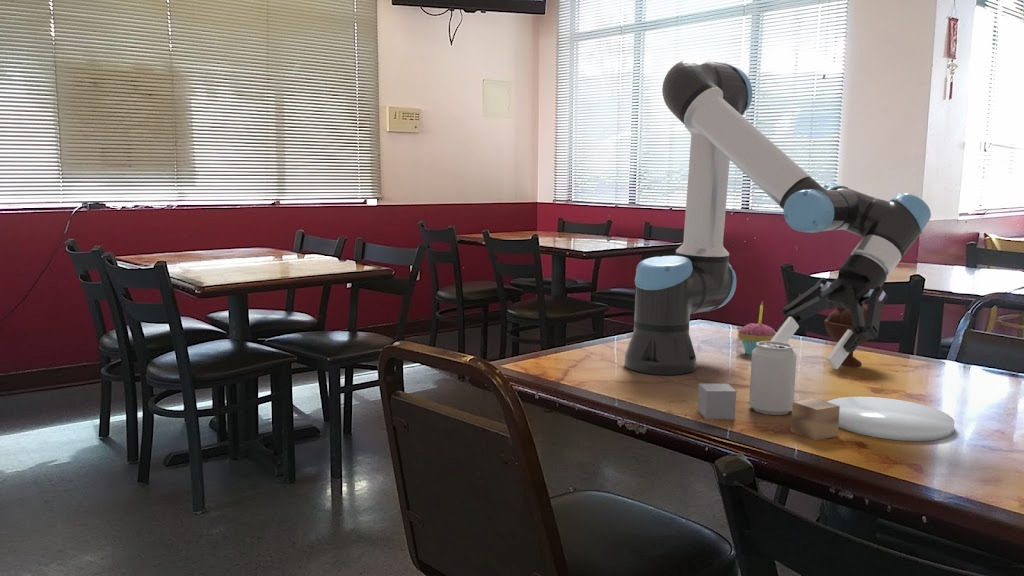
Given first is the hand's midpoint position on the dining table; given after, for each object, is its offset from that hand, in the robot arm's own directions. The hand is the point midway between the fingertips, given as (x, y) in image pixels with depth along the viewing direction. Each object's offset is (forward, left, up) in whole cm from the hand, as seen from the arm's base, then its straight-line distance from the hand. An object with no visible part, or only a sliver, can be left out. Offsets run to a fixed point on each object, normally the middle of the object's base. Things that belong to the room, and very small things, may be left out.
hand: (801, 355), depth 141 cm
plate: (+10, +10, -10) cm, 17 cm away
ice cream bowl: (-27, +33, -10) cm, 44 cm away
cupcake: (-41, +19, -10) cm, 46 cm away
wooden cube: (+12, -6, -10) cm, 17 cm away
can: (-1, -5, -10) cm, 11 cm away
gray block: (-1, -16, -10) cm, 19 cm away
